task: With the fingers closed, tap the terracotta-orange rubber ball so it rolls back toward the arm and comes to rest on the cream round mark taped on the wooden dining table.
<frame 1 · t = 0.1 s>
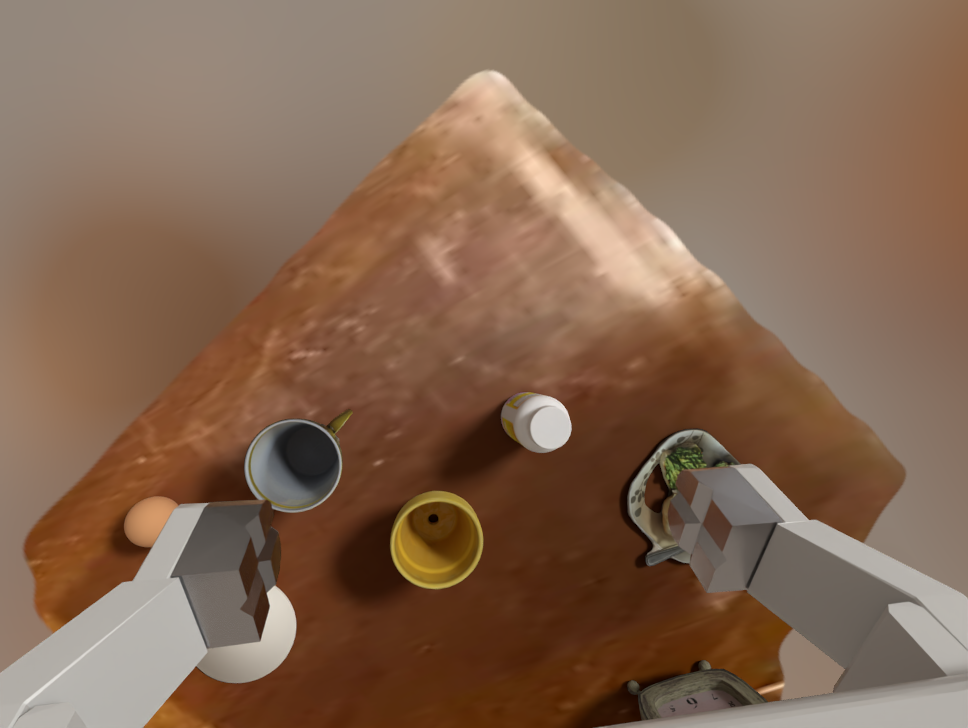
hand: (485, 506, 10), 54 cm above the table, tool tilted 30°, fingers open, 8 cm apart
supplement bottle: (524, 416, 66), on the table
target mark: (241, 629, 60), on the table
ball: (154, 521, 56), on the table
ceramic cup: (322, 440, 62), on the table
avocado toast plate: (689, 492, 69), on the table
plant pot: (434, 516, 64), on the table
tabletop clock: (668, 690, 68), on the table
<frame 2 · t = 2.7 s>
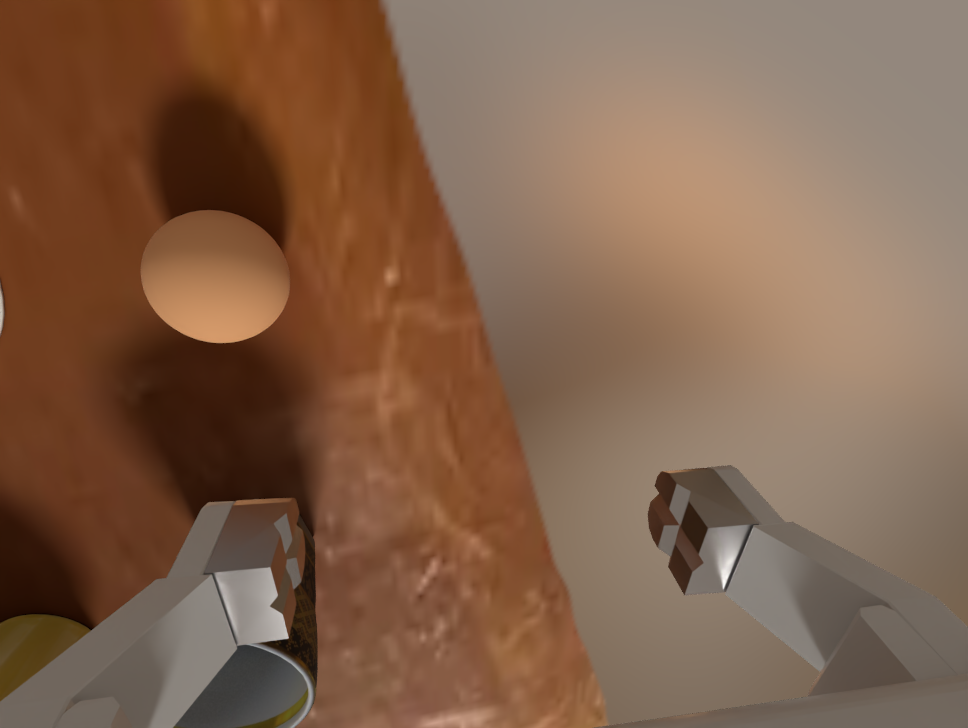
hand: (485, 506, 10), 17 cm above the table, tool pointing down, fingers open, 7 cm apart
ball: (220, 278, 21), on the table
ceramic cup: (270, 549, 33), on the table
plant pot: (48, 639, 34), on the table
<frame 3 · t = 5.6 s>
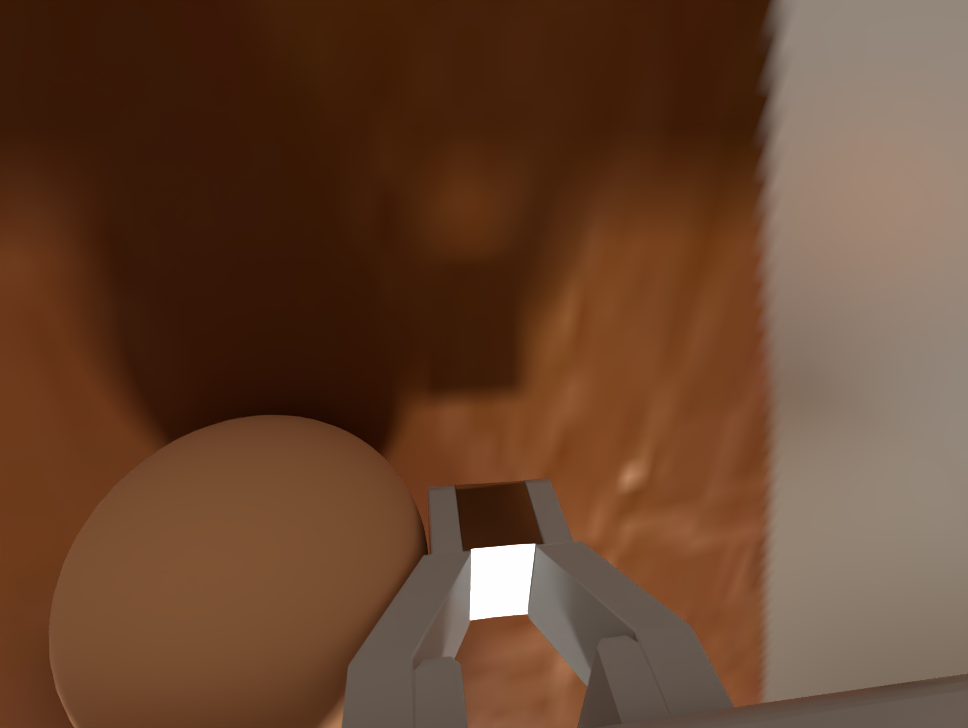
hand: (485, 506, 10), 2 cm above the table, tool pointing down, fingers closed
ball: (265, 577, 8), on the table, touching gripper
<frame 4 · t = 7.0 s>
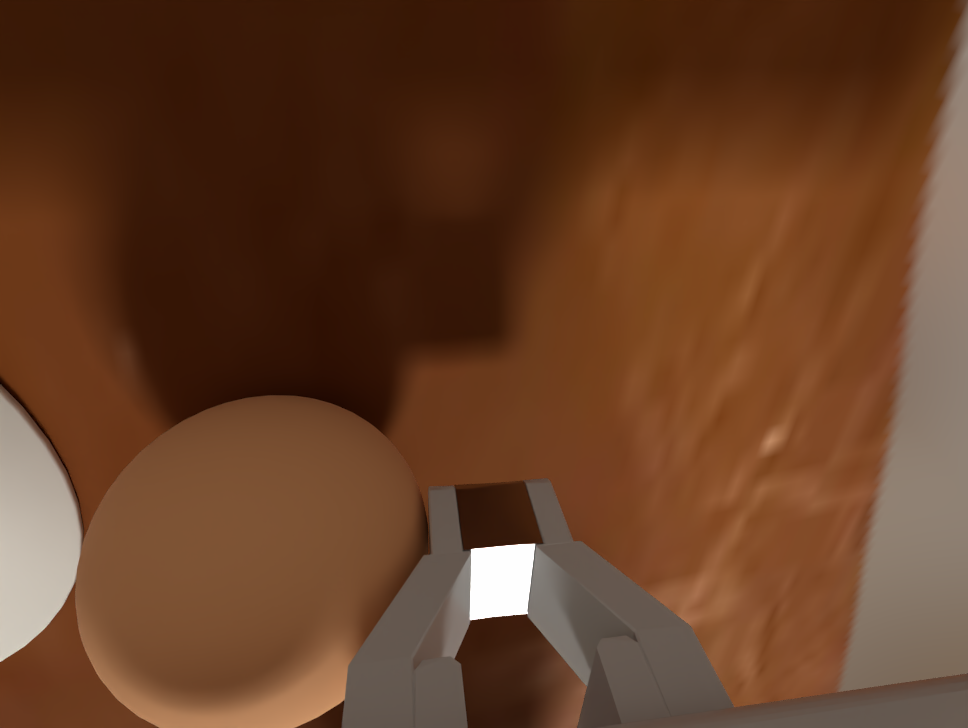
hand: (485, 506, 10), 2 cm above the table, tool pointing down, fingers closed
ball: (274, 547, 9), on the table, touching gripper
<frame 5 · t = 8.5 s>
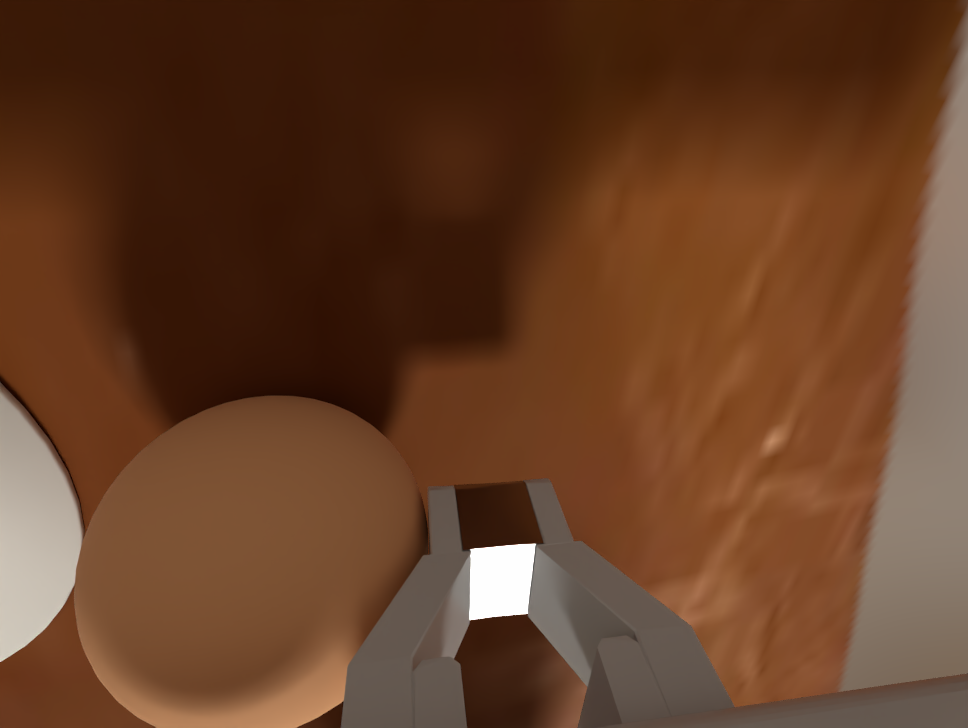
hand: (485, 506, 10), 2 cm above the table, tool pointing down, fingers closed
ball: (274, 548, 9), on the table, touching gripper
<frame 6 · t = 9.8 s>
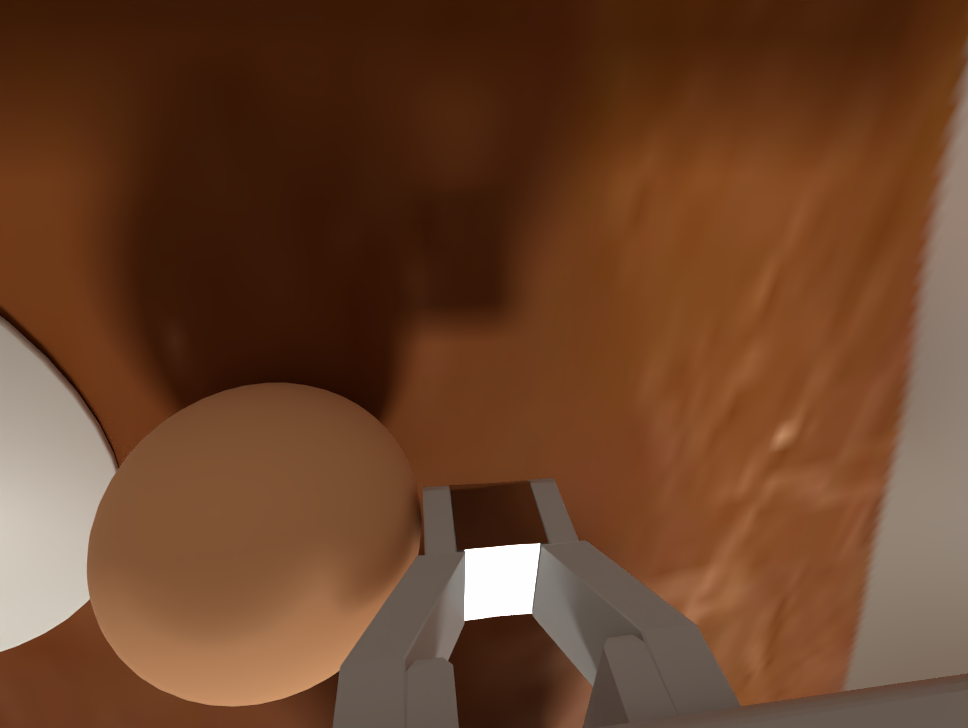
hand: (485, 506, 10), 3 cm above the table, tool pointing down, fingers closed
ball: (274, 528, 9), on the table, touching gripper
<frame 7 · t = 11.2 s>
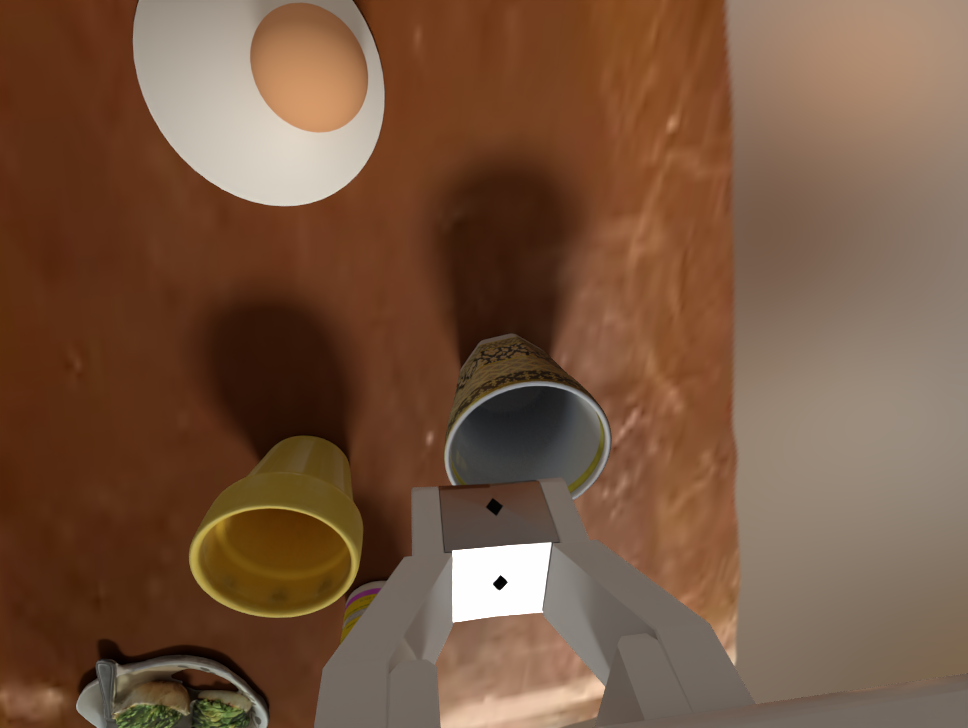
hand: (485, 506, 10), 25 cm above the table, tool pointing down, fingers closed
supplement bottle: (381, 598, 48), on the table
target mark: (265, 84, 27), on the table
ball: (311, 71, 25), on the table
ceramic cup: (507, 387, 38), on the table
avocado toast plate: (183, 699, 53), on the table
plant pot: (307, 465, 40), on the table
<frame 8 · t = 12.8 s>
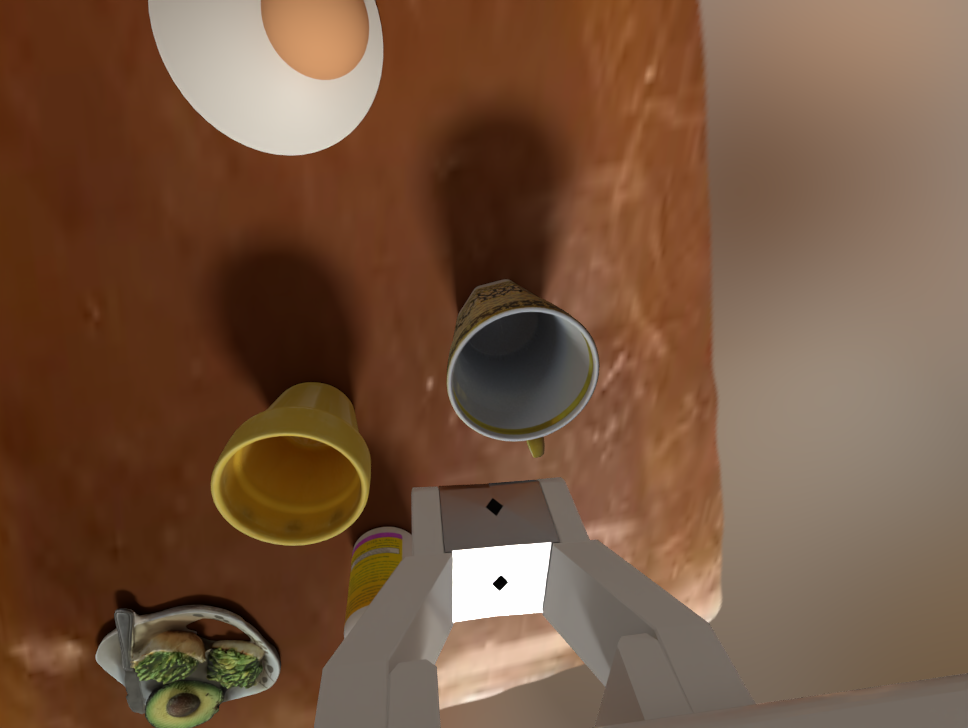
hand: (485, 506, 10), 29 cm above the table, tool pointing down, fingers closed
supplement bottle: (386, 545, 51), on the table
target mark: (272, 36, 29), on the table
ball: (316, 20, 27), on the table
ceramic cup: (501, 333, 41), on the table
avocado toast plate: (197, 651, 55), on the table
plant pot: (315, 412, 42), on the table
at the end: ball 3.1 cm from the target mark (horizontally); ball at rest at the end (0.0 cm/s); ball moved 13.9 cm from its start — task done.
